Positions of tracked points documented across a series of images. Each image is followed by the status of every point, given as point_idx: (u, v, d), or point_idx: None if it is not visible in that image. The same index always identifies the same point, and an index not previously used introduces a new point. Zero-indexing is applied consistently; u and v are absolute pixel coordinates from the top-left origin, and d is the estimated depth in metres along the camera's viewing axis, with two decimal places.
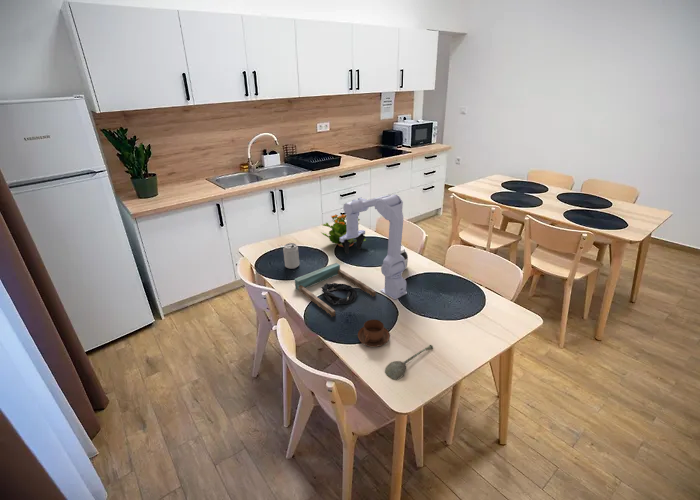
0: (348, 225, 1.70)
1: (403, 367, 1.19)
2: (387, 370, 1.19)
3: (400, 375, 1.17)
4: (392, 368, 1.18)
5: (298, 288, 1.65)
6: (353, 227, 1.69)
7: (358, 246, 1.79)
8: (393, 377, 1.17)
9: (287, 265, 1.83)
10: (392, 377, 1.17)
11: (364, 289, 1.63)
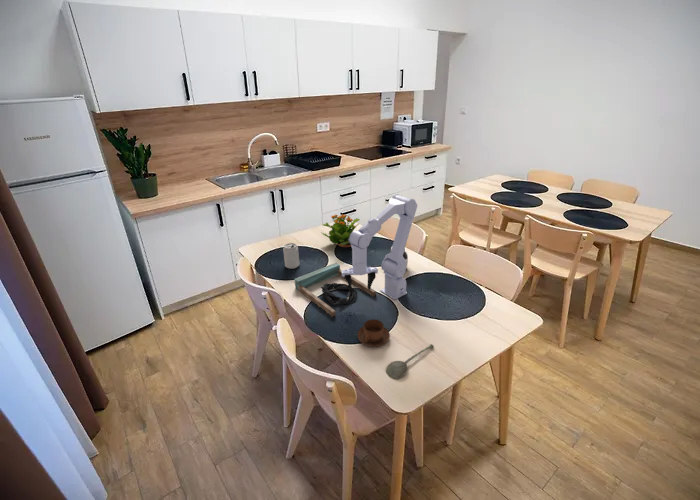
0: (365, 260, 1.40)
1: (404, 366, 1.19)
2: (388, 370, 1.19)
3: (401, 374, 1.17)
4: (393, 368, 1.19)
5: (298, 288, 1.65)
6: None
7: (368, 285, 1.47)
8: (394, 376, 1.17)
9: (287, 265, 1.83)
10: (393, 376, 1.17)
11: (364, 289, 1.63)
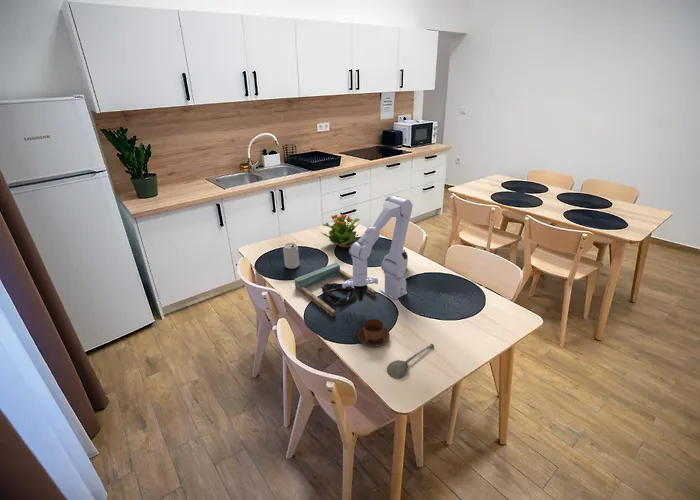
0: (365, 271, 1.41)
1: (405, 366, 1.19)
2: (388, 370, 1.19)
3: (402, 374, 1.17)
4: (394, 367, 1.19)
5: (298, 288, 1.65)
6: None
7: None
8: (395, 376, 1.17)
9: (287, 265, 1.83)
10: (394, 376, 1.17)
11: None
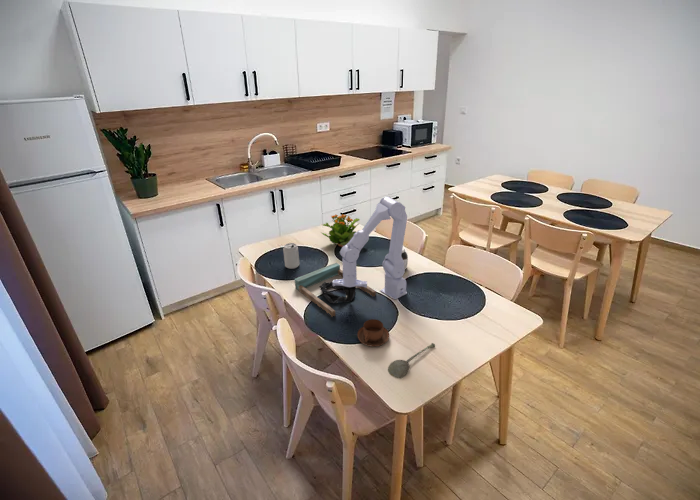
0: (353, 273, 1.46)
1: (406, 365, 1.19)
2: (390, 369, 1.19)
3: (403, 373, 1.17)
4: (395, 367, 1.19)
5: (298, 288, 1.65)
6: None
7: None
8: (396, 375, 1.17)
9: (287, 265, 1.83)
10: (395, 375, 1.17)
11: (364, 289, 1.63)
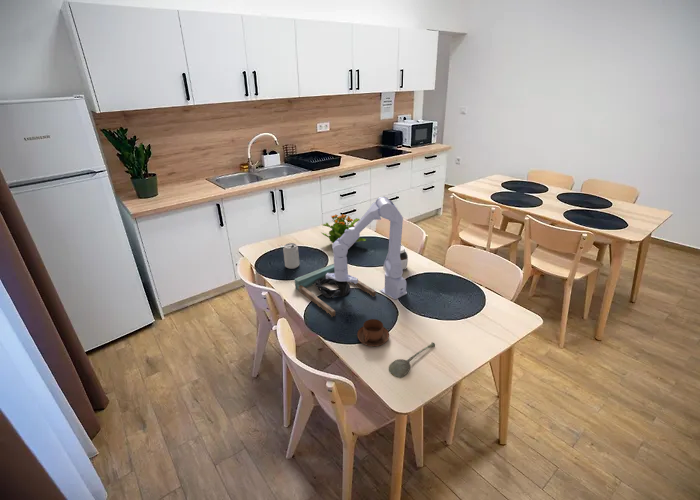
0: (342, 268, 1.51)
1: (407, 365, 1.19)
2: (391, 369, 1.20)
3: (404, 373, 1.17)
4: (396, 366, 1.19)
5: (298, 288, 1.65)
6: (346, 268, 1.52)
7: None
8: (397, 375, 1.17)
9: (287, 265, 1.83)
10: (396, 375, 1.17)
11: (364, 289, 1.63)
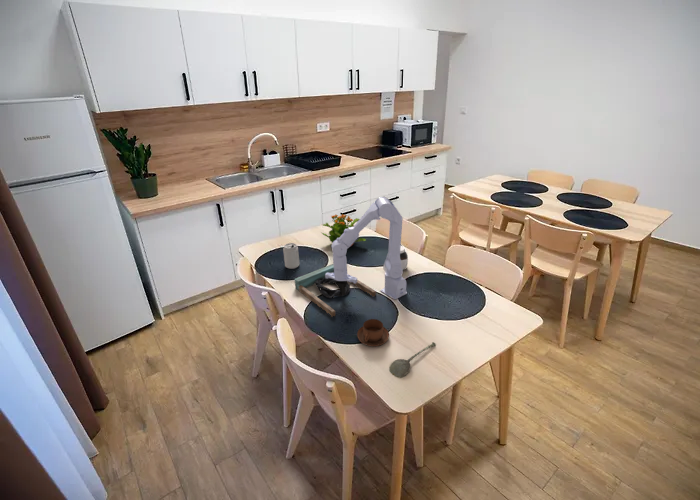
0: (341, 268, 1.51)
1: (407, 365, 1.19)
2: (391, 368, 1.20)
3: (404, 373, 1.17)
4: (396, 366, 1.19)
5: (298, 288, 1.65)
6: (346, 267, 1.52)
7: None
8: (398, 375, 1.17)
9: (287, 265, 1.83)
10: (397, 375, 1.18)
11: (364, 289, 1.63)
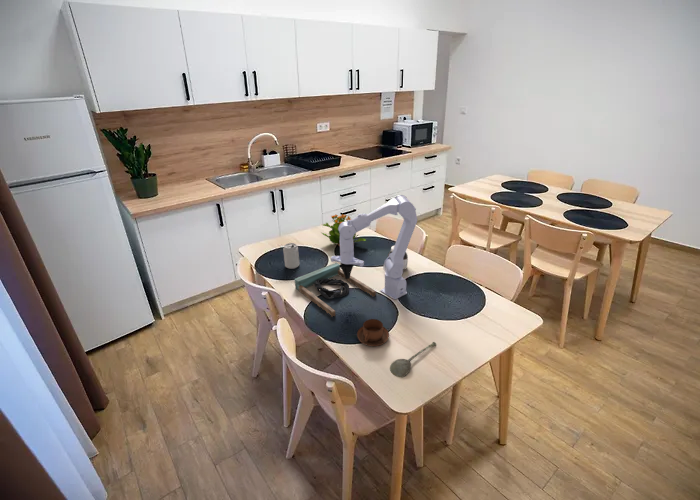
0: (348, 250, 1.48)
1: (408, 364, 1.20)
2: (392, 368, 1.20)
3: (405, 372, 1.18)
4: (397, 366, 1.19)
5: (298, 288, 1.65)
6: (353, 250, 1.49)
7: None
8: (398, 374, 1.18)
9: (287, 265, 1.83)
10: (397, 374, 1.18)
11: (364, 289, 1.63)
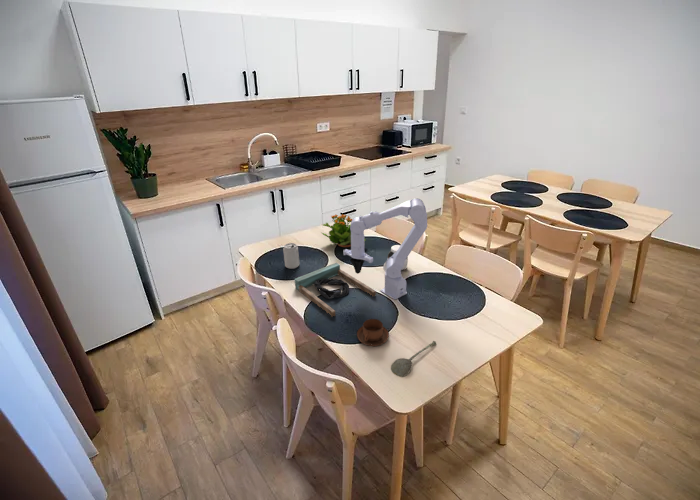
0: (358, 245, 1.51)
1: (409, 364, 1.20)
2: (393, 368, 1.20)
3: (406, 372, 1.18)
4: (398, 365, 1.19)
5: (298, 288, 1.65)
6: (363, 246, 1.53)
7: None
8: (400, 374, 1.18)
9: (287, 265, 1.83)
10: (398, 374, 1.18)
11: (364, 289, 1.63)
